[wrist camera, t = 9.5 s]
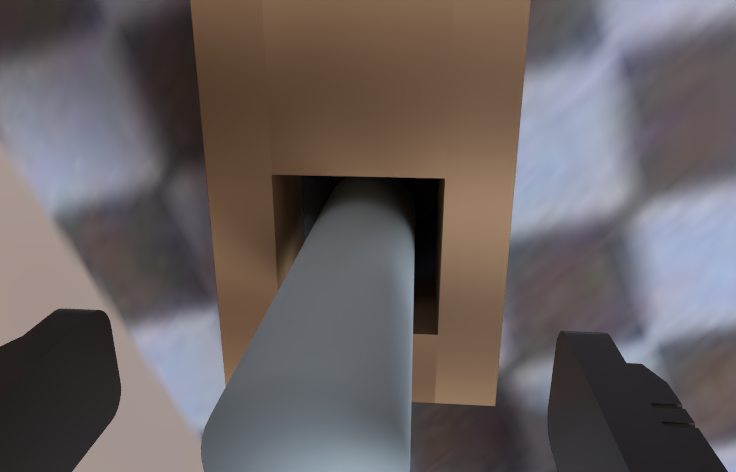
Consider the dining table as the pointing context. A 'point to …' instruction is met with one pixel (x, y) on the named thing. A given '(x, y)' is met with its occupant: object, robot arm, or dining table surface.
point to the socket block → (366, 154)
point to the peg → (330, 349)
